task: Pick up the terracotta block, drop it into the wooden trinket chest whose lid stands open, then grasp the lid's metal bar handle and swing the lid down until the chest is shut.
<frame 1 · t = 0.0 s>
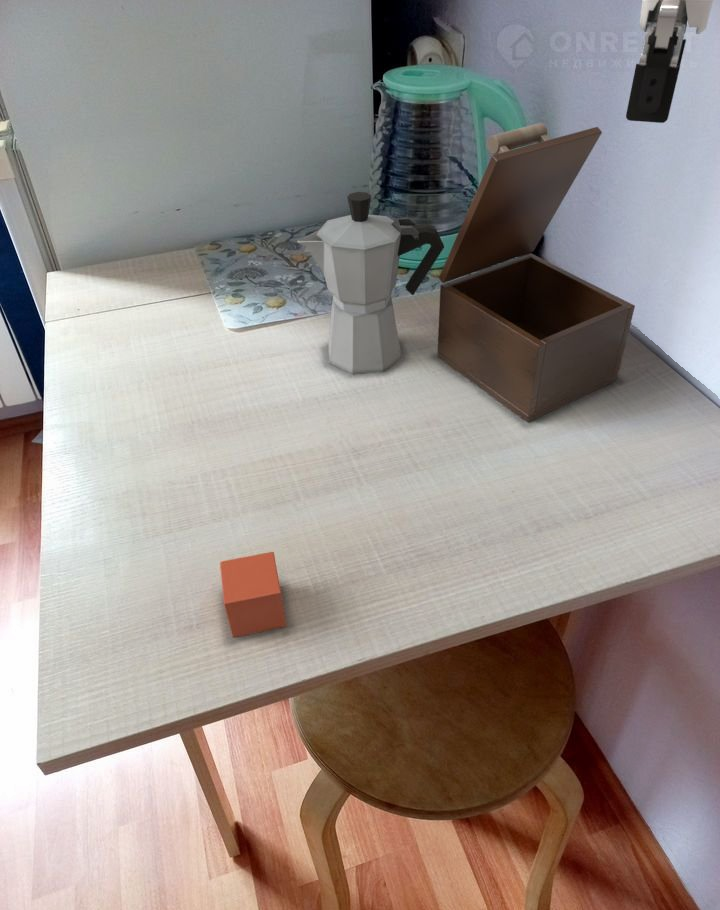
hand: (650, 104, 60), 26 cm above the table, tool pointing down, fingers open, 9 cm apart
coffee maker: (373, 353, 80), on the table
block: (256, 610, 53), on the table
wooden trinket chest: (524, 368, 77), on the table
lid: (504, 196, 69), point 17 cm above the table, hinge at 65.0°
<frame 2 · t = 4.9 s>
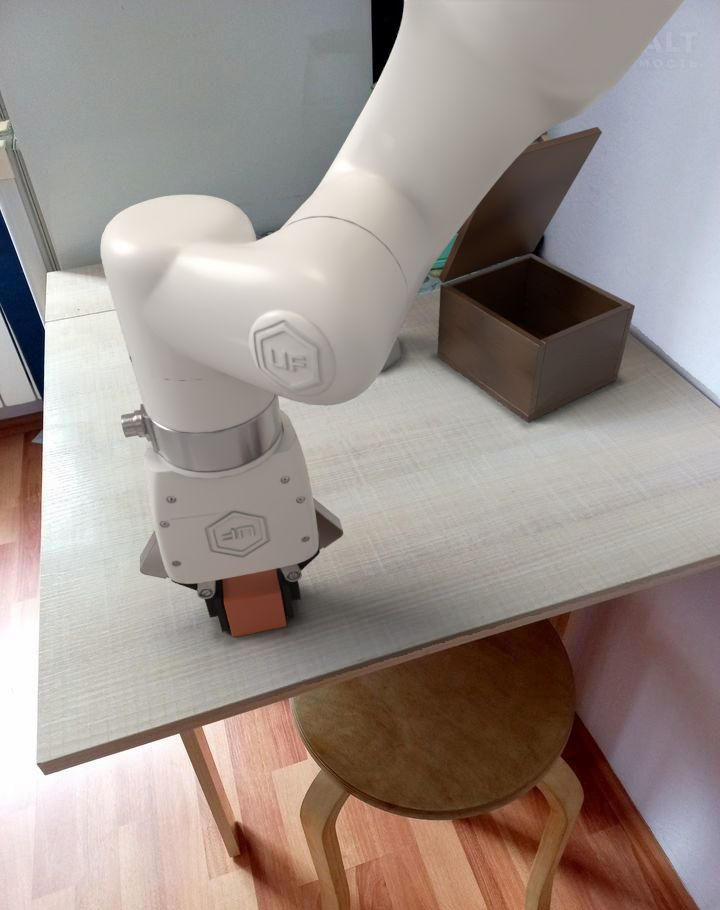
hand: (256, 608, 53), 0 cm above the table, tool pointing down, fingers closed on block, 4 cm apart
block: (256, 610, 53), on the table, touching gripper
everything else where it was.
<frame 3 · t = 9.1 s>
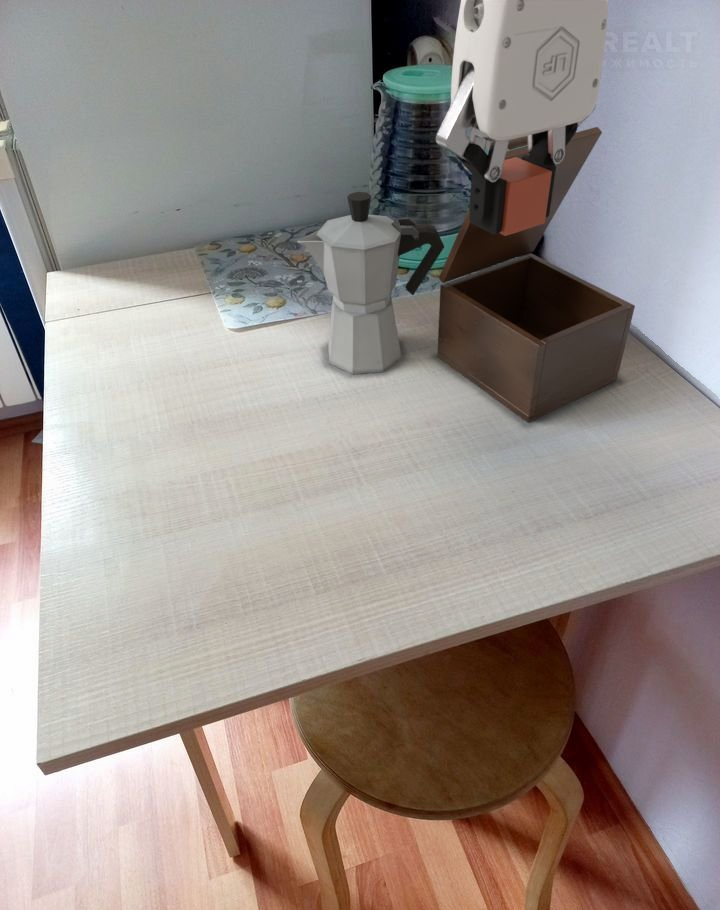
hand: (509, 217, 55), 21 cm above the table, tool pointing down, fingers closed on block, 4 cm apart
block: (507, 221, 55), point 21 cm above the table, touching gripper
everything else where it was.
when the fingers open (8 cm above the table, at t = 13.5 s): block drops 7 cm, resting on wooden trinket chest.
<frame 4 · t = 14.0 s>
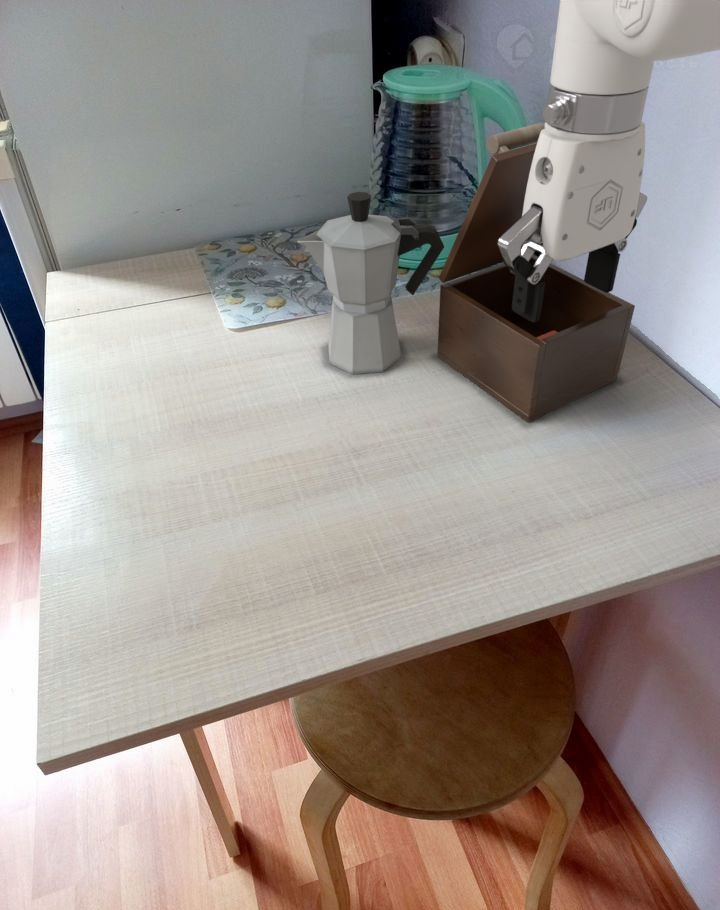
hand: (562, 301, 68), 10 cm above the table, tool pointing down, fingers open, 9 cm apart
block: (548, 376, 74), point 1 cm above the table, touching wooden trinket chest
everything else where it was.
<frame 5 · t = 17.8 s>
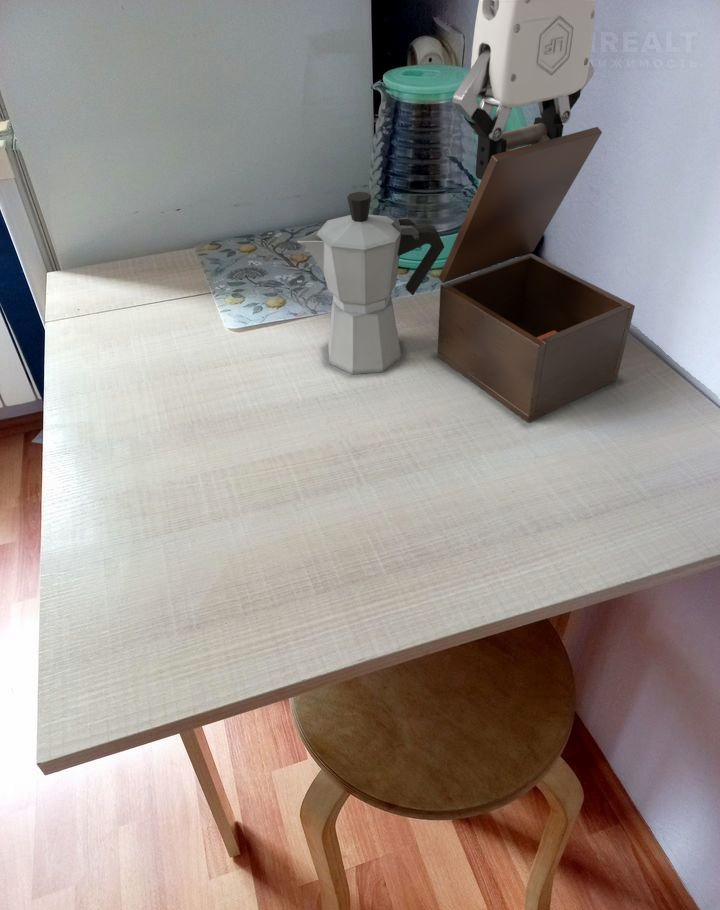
hand: (516, 171, 67), 20 cm above the table, tool pointing down, fingers closed on lid, 6 cm apart
lid: (504, 196, 69), point 17 cm above the table, hinge at 65.0°, touching gripper
everything else where it was.
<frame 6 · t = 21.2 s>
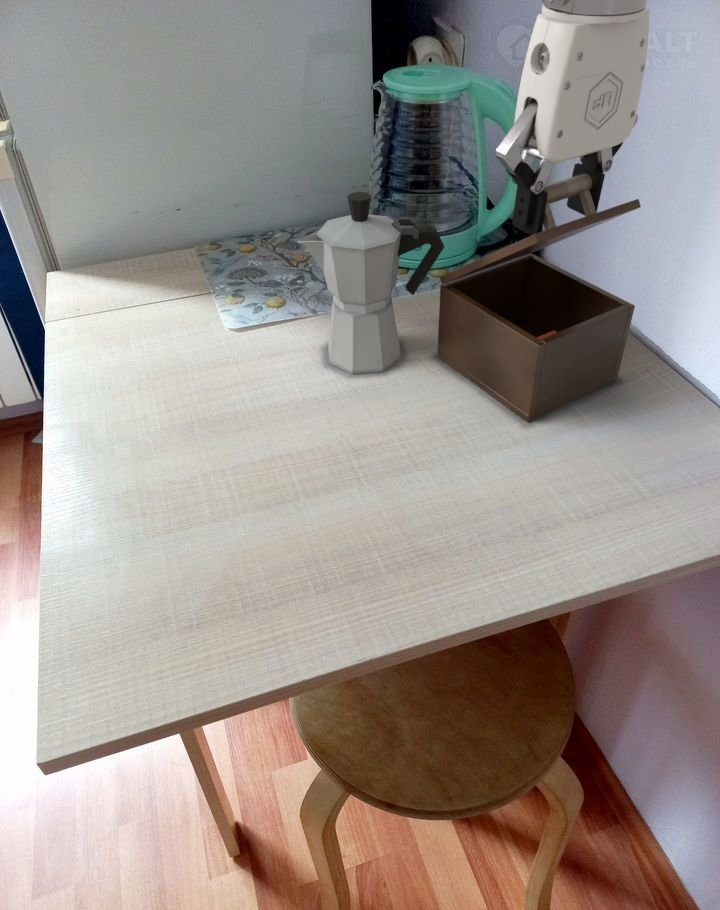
hand: (554, 219, 65), 17 cm above the table, tool pointing down, fingers closed on lid, 6 cm apart
lid: (527, 225, 68), point 15 cm above the table, hinge at 35.7°, touching gripper
everything else where it was.
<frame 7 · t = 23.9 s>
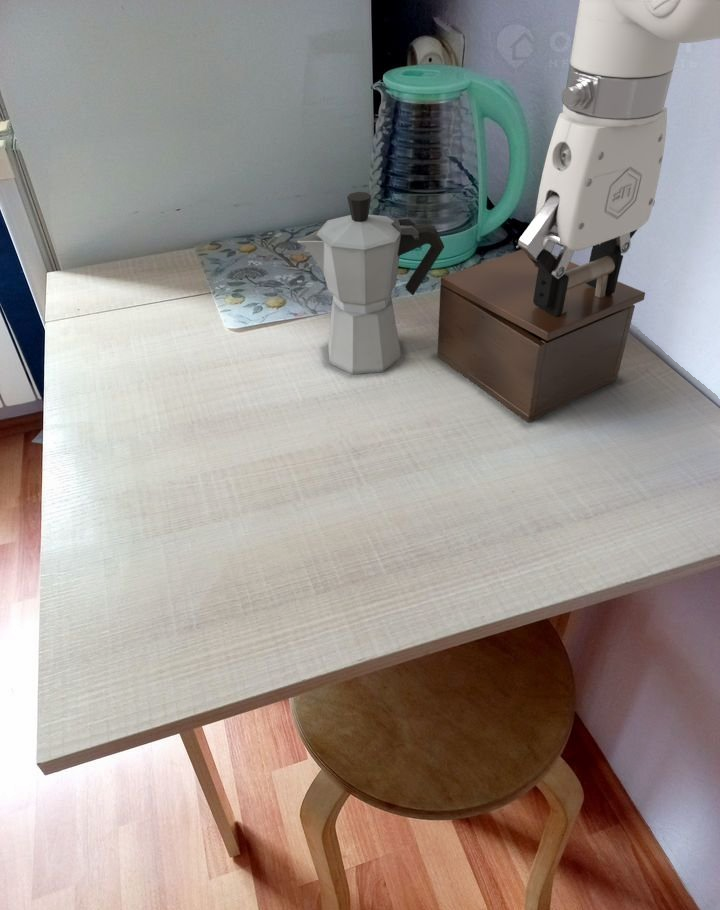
hand: (573, 297, 67), 11 cm above the table, tool pointing down, fingers closed on lid, 6 cm apart
lid: (540, 270, 69), point 12 cm above the table, hinge at 3.2°, touching gripper
everything else where it was.
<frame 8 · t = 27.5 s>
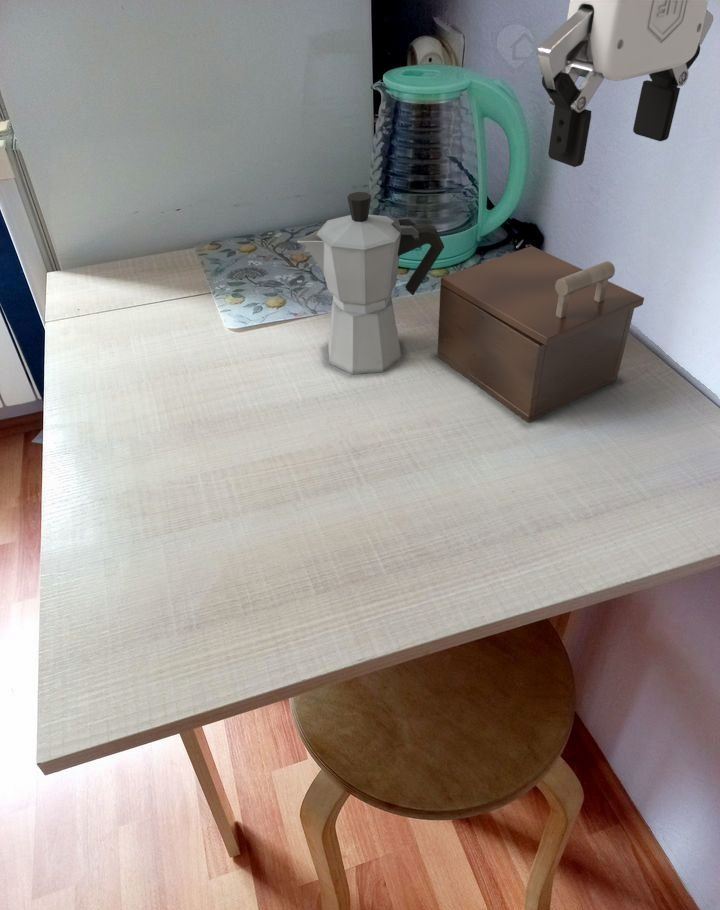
hand: (608, 148, 57), 24 cm above the table, tool pointing down, fingers open, 9 cm apart
lid: (540, 272, 69), point 11 cm above the table, hinge at 1.3°
everything else where it was.
at the end: lid at +1° (first picture: +65°); block inside the target area in the wooden trinket chest (3.5 cm from its centre), point 0.8 cm above the wooden trinket chest's base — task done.
